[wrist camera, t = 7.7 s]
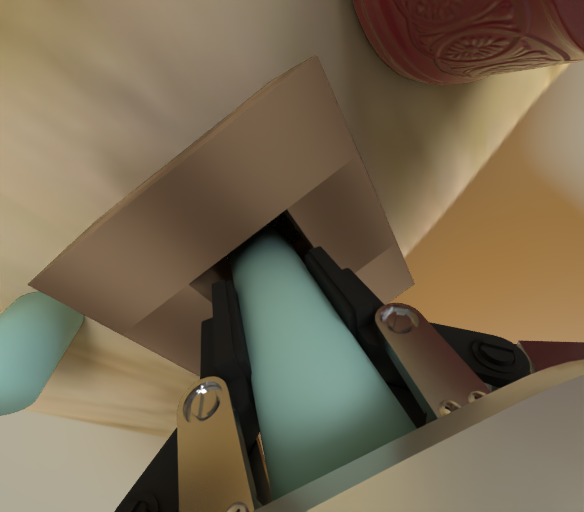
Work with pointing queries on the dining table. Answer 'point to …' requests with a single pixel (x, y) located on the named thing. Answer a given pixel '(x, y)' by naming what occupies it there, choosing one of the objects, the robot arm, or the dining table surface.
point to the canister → (472, 36)
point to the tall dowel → (306, 369)
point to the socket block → (230, 219)
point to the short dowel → (32, 346)
